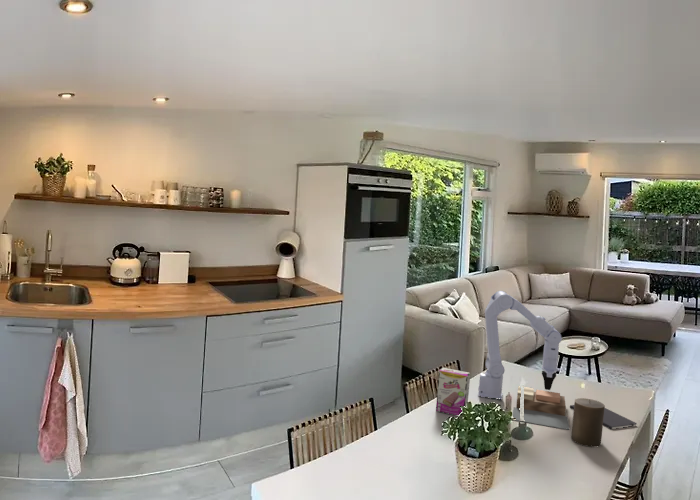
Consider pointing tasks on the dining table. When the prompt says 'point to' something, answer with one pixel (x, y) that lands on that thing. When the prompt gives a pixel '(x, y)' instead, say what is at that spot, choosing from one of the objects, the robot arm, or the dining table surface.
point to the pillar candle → (587, 422)
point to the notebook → (614, 420)
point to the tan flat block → (544, 405)
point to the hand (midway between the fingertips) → (547, 389)
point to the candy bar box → (452, 390)
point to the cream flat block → (526, 393)
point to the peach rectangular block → (548, 396)
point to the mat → (542, 418)
